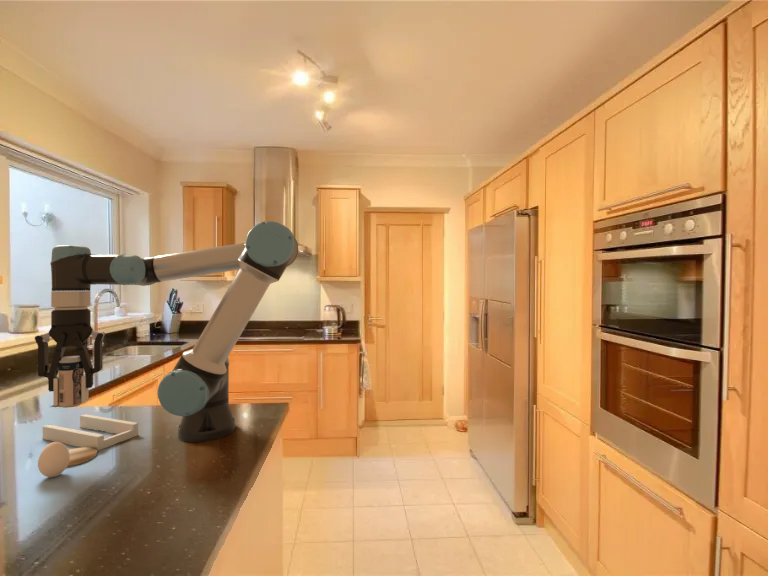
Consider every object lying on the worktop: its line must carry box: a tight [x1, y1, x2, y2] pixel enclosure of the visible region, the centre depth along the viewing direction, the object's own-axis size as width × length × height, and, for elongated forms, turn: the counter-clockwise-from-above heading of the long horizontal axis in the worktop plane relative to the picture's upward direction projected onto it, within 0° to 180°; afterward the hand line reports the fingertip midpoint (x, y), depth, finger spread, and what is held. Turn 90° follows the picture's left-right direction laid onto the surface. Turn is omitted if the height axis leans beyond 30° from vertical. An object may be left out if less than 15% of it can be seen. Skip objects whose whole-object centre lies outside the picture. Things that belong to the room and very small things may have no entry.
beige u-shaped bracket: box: [42, 413, 139, 451], centre depth 107 cm, size 23×11×4 cm, turn 70°
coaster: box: [66, 447, 98, 468], centre depth 93 cm, size 10×10×1 cm
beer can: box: [58, 355, 85, 408], centre depth 93 cm, size 5×5×12 cm
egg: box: [37, 441, 70, 478], centre depth 85 cm, size 5×5×8 cm
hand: (71, 402), depth 93 cm, fingers closed on beer can, 5 cm apart
